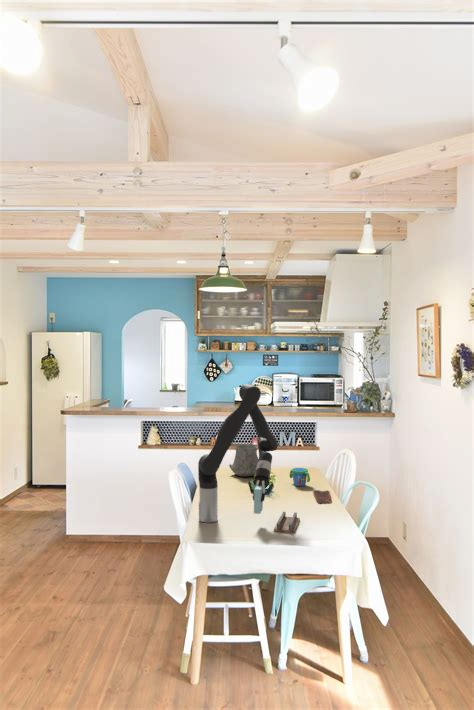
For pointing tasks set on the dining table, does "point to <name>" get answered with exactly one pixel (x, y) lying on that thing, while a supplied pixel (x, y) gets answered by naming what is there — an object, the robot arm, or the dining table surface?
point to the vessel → (245, 460)
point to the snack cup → (299, 476)
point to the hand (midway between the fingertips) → (258, 501)
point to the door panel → (258, 500)
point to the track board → (287, 523)
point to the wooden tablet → (322, 497)
